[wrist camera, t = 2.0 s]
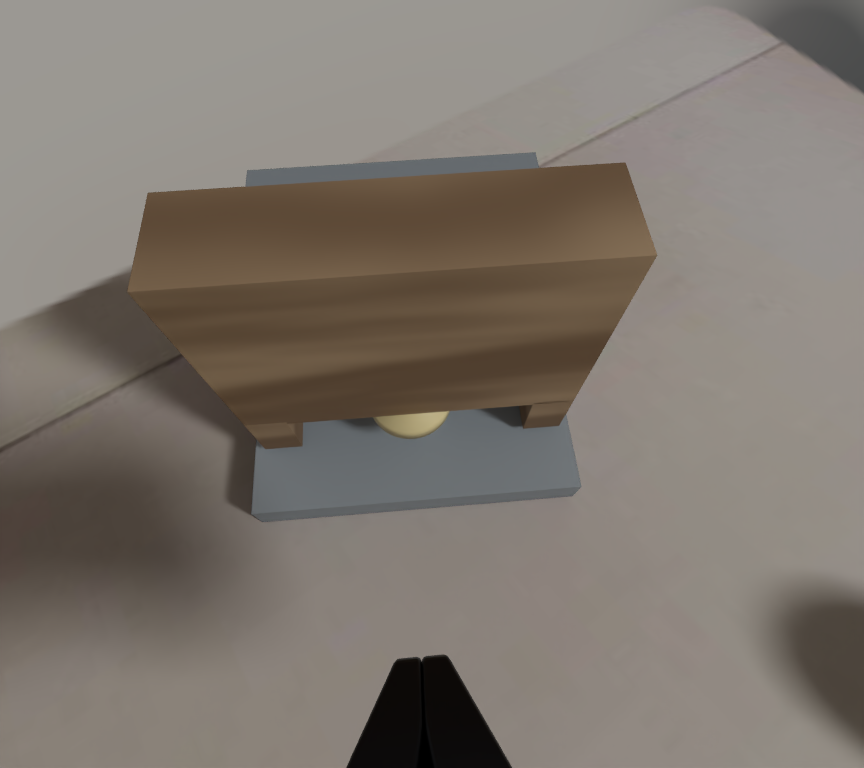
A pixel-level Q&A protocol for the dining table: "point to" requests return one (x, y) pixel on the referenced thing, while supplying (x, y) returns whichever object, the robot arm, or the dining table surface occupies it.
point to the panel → (394, 291)
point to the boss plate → (413, 467)
